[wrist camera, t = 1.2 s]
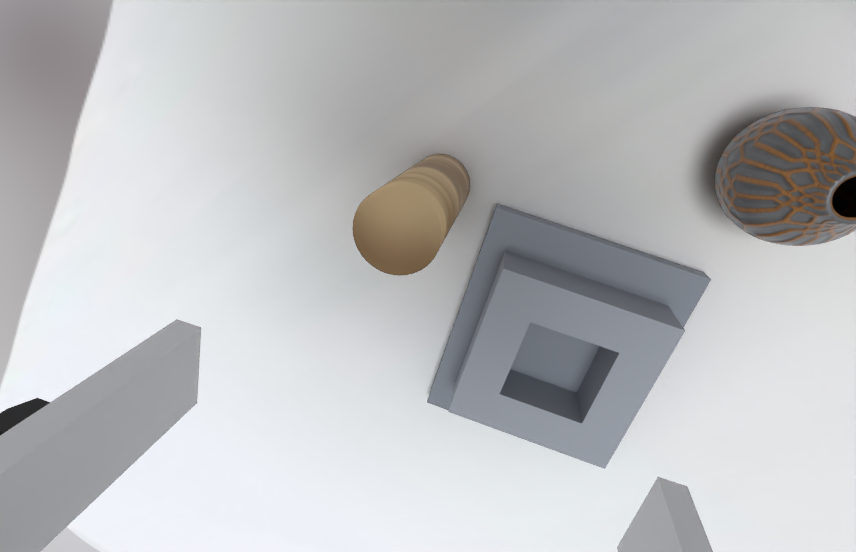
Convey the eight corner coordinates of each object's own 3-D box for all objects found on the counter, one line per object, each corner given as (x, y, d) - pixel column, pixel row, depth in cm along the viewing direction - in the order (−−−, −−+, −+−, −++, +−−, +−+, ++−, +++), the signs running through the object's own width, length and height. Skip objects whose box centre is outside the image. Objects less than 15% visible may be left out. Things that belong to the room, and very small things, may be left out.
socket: (497, 203, 32) (492, 221, 28) (704, 272, 31) (733, 301, 27) (429, 393, 38) (417, 431, 34) (600, 455, 37) (610, 503, 33)
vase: (736, 89, 27) (824, 89, 19) (858, 126, 27) (1002, 140, 19) (678, 204, 30) (735, 245, 22) (789, 239, 30) (888, 294, 21)
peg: (420, 146, 32) (364, 174, 21) (478, 165, 31) (452, 204, 20) (404, 203, 33) (344, 258, 22) (459, 221, 33) (426, 287, 22)
